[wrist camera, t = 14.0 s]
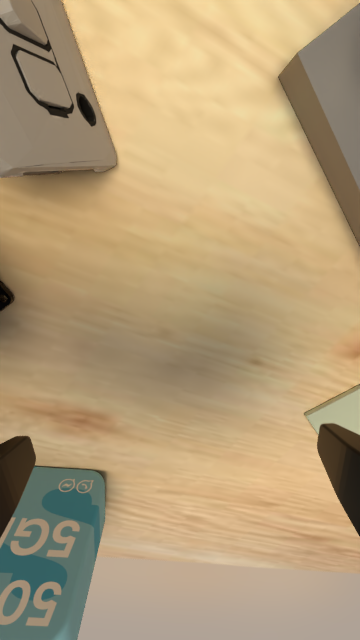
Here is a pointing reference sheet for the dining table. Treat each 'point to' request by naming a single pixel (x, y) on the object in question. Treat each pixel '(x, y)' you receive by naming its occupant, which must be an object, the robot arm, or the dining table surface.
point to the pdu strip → (332, 107)
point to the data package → (50, 554)
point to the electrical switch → (46, 95)
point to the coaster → (338, 411)
